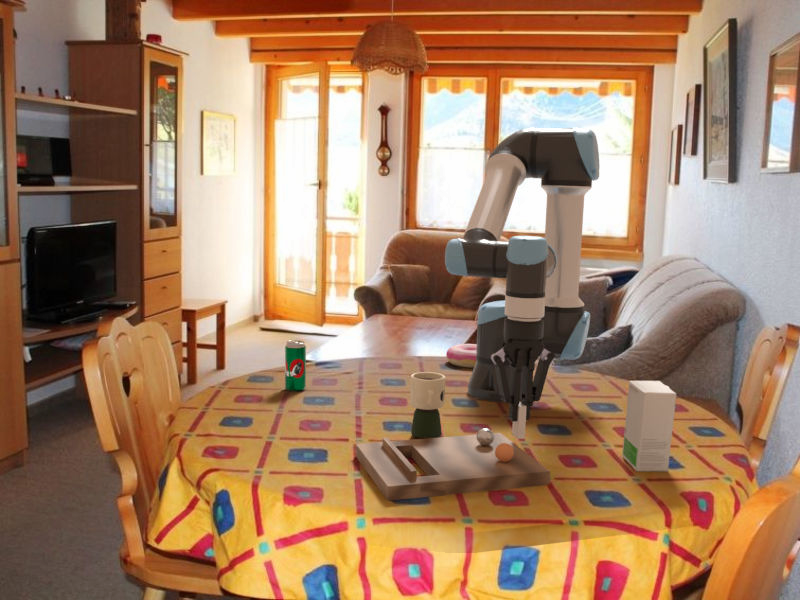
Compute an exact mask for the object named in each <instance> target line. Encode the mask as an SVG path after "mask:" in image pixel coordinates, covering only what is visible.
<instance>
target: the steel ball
mask: <svg viewBox="0 0 800 600" xmlns="http://www.w3.org/2000/svg"><path fill="white" fill-rule="evenodd" d="M493 433H494V432H493V430H492V429H490V428H488V427H483V428H481V429H479V430H478V431H477V433H476V435H477V441H478V442H479V444H481V445H483V446H488V445H490V444H492V442H493V441H494V434H493Z"/></svg>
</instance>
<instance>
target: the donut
mask: <svg viewBox="0 0 800 600" xmlns="http://www.w3.org/2000/svg"><path fill="white" fill-rule="evenodd" d="M476 348H477V343H460V344H455V345H452V346H450V347H448V349H447V350H446V355H445V356H446V357H445V358H446V359H447V361H448V362H449V363H450V364H451V365H454V366H456V367H462V368H470V369H474V367H475V364H476Z"/></svg>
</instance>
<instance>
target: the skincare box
mask: <svg viewBox="0 0 800 600" xmlns="http://www.w3.org/2000/svg"><path fill="white" fill-rule="evenodd" d="M676 401H677V392H675V391H674V390H672V389H671V388H670V386H668V385H666V384H664V383H663V382H662V381H661V380H629V381H628V393H627V403H626V404H627V405H626V413H625V422H624V423H625V424H624V432H623V433H624V434H623V435H624V436H623V444H622V451H621V452H622V454H621V455H622V458H624V459H625V460H626V462H627V463H628V465H630V466H631V467H632V468H633V469H634V470H635V471H636V472H669V466H670V465H669V463H670V457H671V456H670V454H671V448H672V447H671V446H672V437H673V436H672V435H673V427H674V421H675V420H674V419H675V412H676V411H675V409H676Z"/></svg>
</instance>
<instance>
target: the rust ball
mask: <svg viewBox="0 0 800 600" xmlns="http://www.w3.org/2000/svg"><path fill="white" fill-rule="evenodd" d="M495 455H496V457H497V459H498V460H500V461H502V462H508V461H510V460H511V459H512V458H513V455H514V450H513V448H512V446H511V445H509V444H507V443H502V444H499V445H498V446H497V447H496V450H495Z"/></svg>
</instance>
